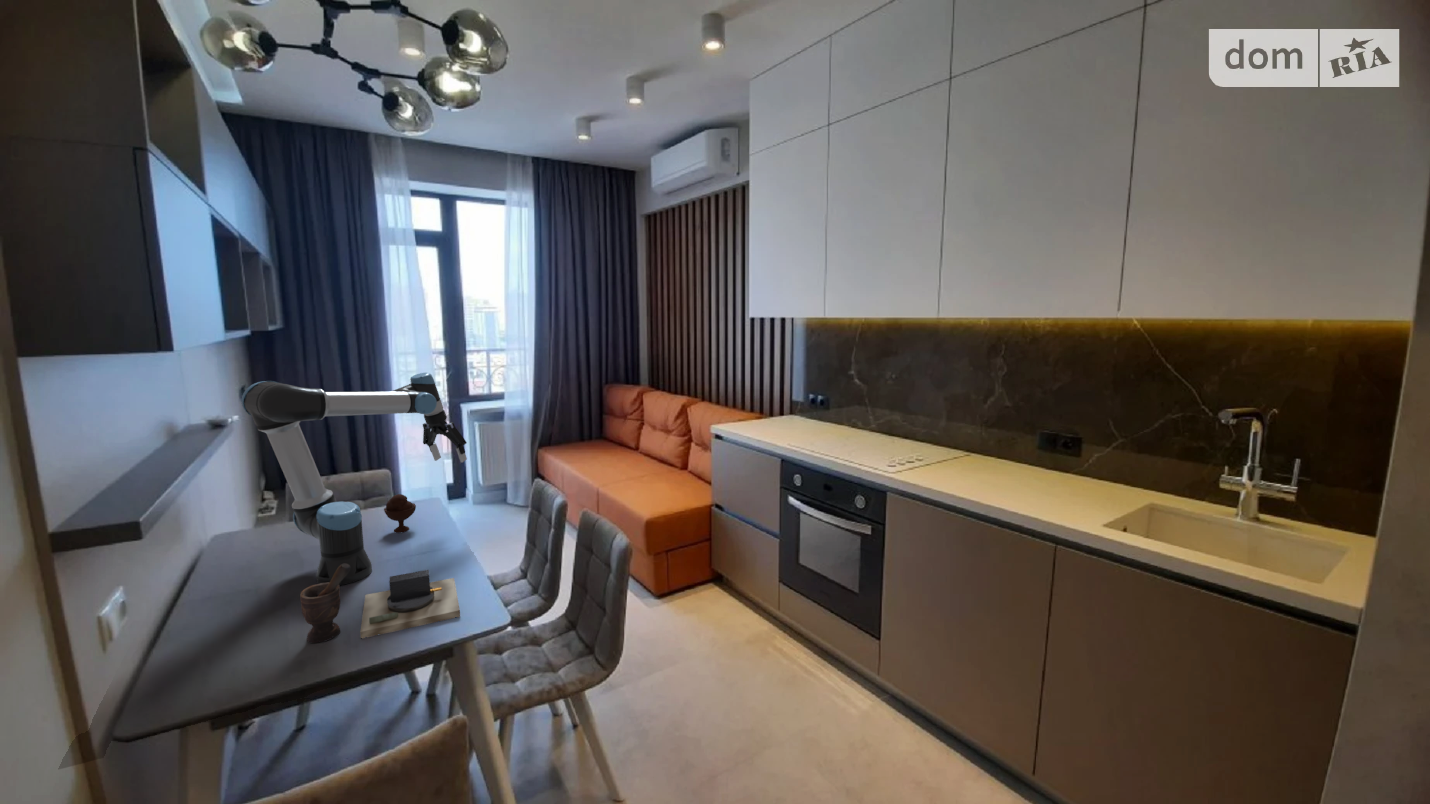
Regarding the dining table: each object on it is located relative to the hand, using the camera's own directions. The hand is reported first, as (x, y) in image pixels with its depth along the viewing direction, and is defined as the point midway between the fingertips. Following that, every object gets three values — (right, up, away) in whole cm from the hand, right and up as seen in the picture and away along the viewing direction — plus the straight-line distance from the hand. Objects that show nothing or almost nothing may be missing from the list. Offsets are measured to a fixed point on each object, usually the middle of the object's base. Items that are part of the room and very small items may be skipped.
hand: (450, 460), depth 224 cm
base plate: (+18, -37, -61) cm, 74 cm away
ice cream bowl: (-17, -27, -4) cm, 33 cm away
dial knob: (+19, -35, -61) cm, 73 cm away
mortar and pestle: (+3, -39, -75) cm, 84 cm away
